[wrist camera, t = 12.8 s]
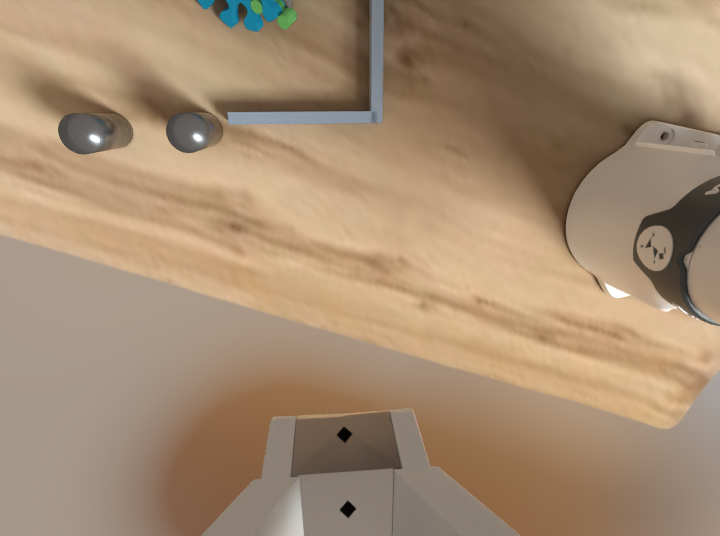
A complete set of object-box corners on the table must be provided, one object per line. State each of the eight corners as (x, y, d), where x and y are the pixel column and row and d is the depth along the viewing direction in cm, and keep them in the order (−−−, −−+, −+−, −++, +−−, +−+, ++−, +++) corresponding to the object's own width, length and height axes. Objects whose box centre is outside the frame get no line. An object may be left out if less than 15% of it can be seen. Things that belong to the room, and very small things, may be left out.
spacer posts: (191, -143, 31) (162, -198, 26) (224, 146, 39) (208, 152, 33) (37, -149, 31) (-27, -206, 25) (102, 148, 38) (63, 154, 33)
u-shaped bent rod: (381, -104, 33) (385, -117, 31) (379, 122, 39) (382, 123, 37) (208, -110, 32) (201, -123, 30) (233, 123, 38) (228, 124, 36)
